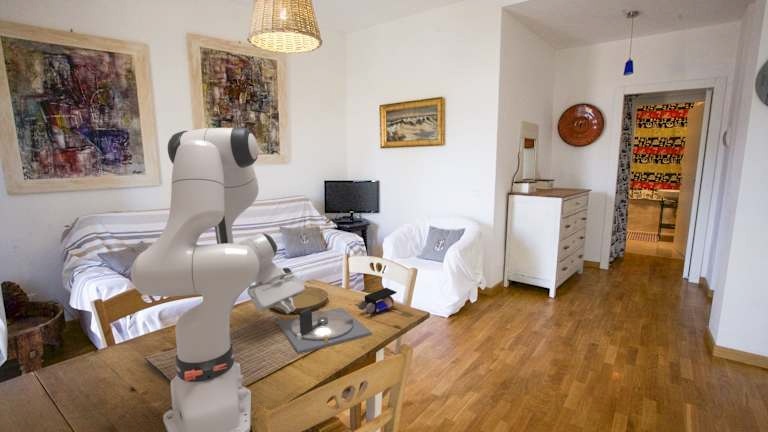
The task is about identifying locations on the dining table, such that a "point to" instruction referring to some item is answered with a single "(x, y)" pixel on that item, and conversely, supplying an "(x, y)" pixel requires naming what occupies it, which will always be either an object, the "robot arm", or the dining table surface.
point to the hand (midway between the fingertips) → (291, 311)
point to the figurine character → (376, 296)
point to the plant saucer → (307, 300)
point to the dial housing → (310, 345)
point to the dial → (321, 324)
